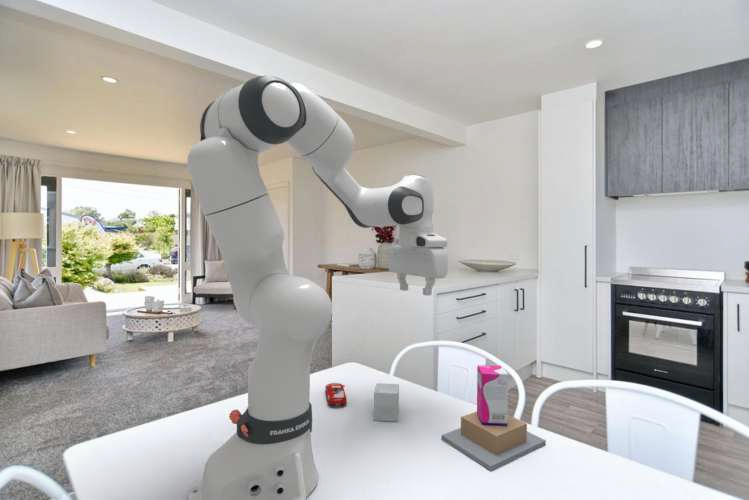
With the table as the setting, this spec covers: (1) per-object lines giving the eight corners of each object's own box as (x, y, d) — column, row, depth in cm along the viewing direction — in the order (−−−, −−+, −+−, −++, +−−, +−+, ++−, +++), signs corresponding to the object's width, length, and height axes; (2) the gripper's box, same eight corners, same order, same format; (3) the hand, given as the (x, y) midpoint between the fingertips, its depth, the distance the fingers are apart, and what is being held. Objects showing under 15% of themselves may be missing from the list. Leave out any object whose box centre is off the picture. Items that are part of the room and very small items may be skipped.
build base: (490, 471, 77) (491, 446, 77) (441, 439, 88) (441, 417, 88) (545, 444, 87) (546, 422, 86) (494, 419, 98) (495, 399, 98)
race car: (324, 390, 116) (324, 377, 116) (343, 389, 117) (343, 376, 117) (327, 410, 103) (327, 395, 103) (347, 408, 104) (347, 393, 104)
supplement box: (501, 413, 90) (502, 365, 90) (508, 426, 84) (509, 374, 84) (476, 412, 91) (477, 364, 90) (480, 425, 85) (481, 373, 84)
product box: (397, 422, 96) (398, 393, 96) (373, 421, 97) (373, 392, 97) (399, 411, 102) (399, 383, 102) (375, 410, 103) (376, 382, 103)
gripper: (383, 238, 108) (382, 288, 109) (432, 240, 91) (431, 299, 92) (401, 238, 112) (400, 287, 112) (452, 240, 95) (451, 297, 95)
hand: (415, 292), depth 102 cm, fingers open, 8 cm apart
